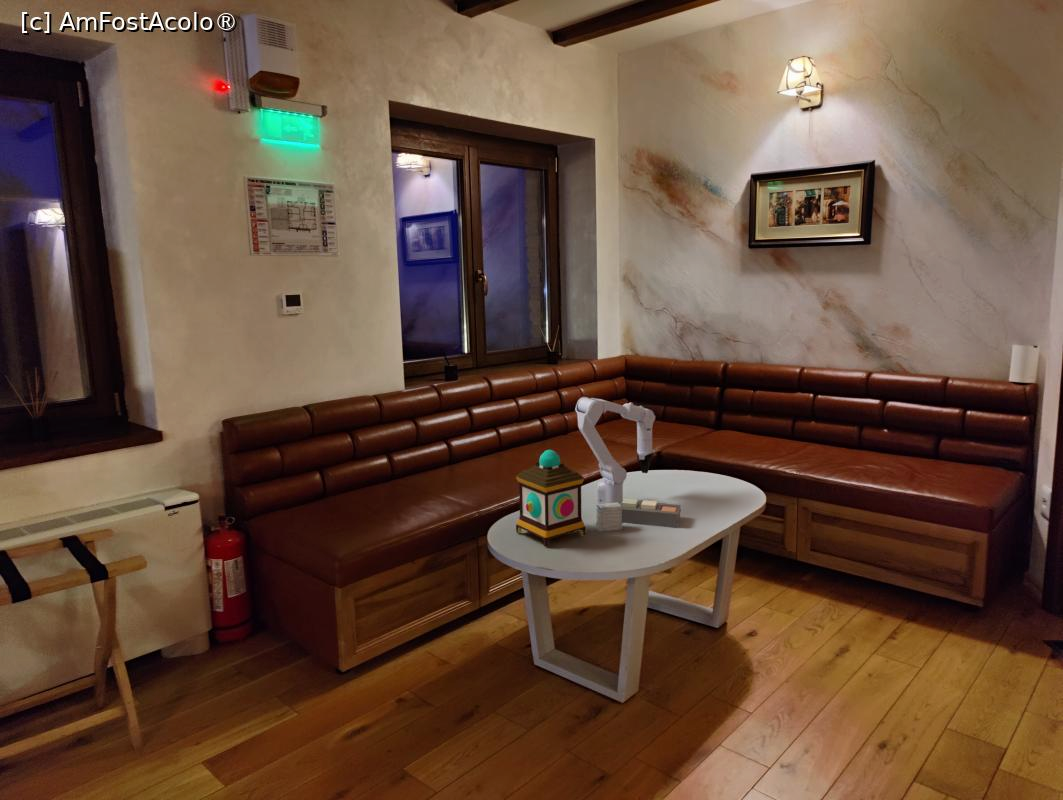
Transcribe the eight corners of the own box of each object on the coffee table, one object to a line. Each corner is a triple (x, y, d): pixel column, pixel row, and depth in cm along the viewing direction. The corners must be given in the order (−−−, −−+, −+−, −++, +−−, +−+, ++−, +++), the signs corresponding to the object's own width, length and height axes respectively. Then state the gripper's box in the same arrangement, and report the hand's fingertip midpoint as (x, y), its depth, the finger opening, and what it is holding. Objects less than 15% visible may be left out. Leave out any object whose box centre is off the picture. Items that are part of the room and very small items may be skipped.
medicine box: (617, 525, 259) (617, 501, 258) (622, 529, 255) (622, 505, 253) (596, 527, 258) (596, 503, 256) (600, 532, 253) (600, 508, 252)
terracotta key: (660, 518, 260) (660, 510, 259) (662, 513, 264) (662, 506, 264) (674, 519, 258) (675, 511, 258) (676, 515, 263) (676, 507, 262)
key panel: (617, 522, 262) (617, 508, 261) (622, 513, 272) (622, 500, 271) (676, 527, 256) (677, 513, 255) (680, 518, 265) (680, 504, 264)
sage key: (621, 510, 264) (621, 502, 263) (624, 506, 268) (624, 498, 268) (635, 511, 262) (635, 503, 262) (637, 507, 267) (637, 499, 266)
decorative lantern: (510, 533, 254) (508, 449, 248) (555, 520, 265) (554, 439, 260) (545, 550, 238) (544, 461, 232) (591, 536, 249) (591, 450, 244)
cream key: (641, 512, 261) (641, 504, 261) (643, 507, 266) (643, 500, 266) (655, 513, 260) (655, 505, 259) (657, 508, 265) (657, 501, 264)
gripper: (652, 443, 276) (652, 478, 278) (657, 434, 289) (658, 467, 292) (633, 443, 278) (633, 477, 280) (640, 433, 291) (640, 466, 294)
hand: (645, 472), depth 286 cm, fingers closed
